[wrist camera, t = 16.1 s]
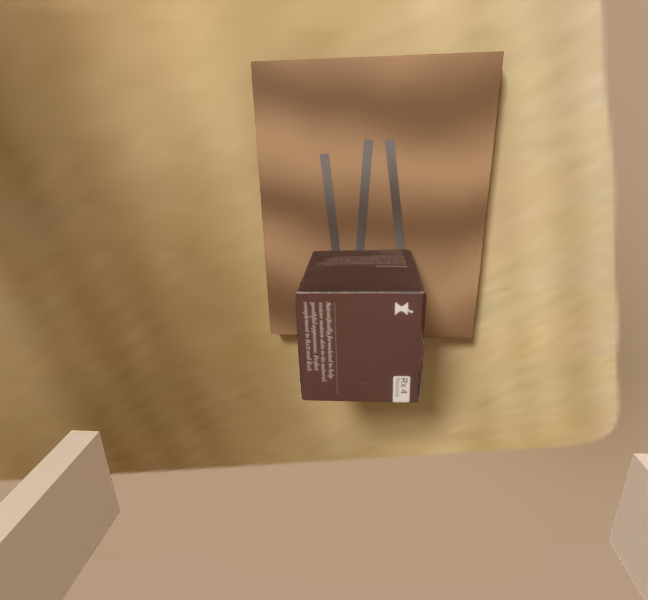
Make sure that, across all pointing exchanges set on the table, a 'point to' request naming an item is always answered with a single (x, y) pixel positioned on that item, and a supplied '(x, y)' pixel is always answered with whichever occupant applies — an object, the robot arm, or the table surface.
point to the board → (378, 170)
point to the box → (361, 326)
